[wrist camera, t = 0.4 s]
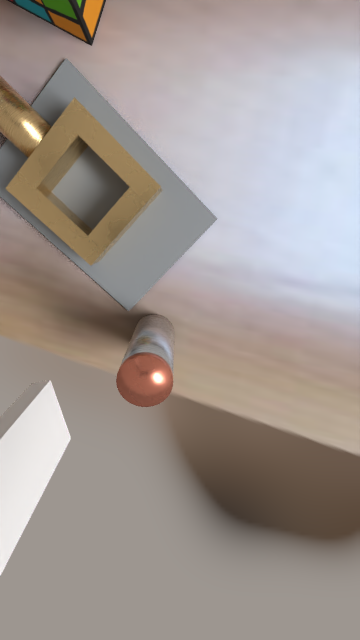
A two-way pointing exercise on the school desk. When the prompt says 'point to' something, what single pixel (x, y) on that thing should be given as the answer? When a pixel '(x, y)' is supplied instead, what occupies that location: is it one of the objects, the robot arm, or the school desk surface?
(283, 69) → the school desk surface
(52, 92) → the mat
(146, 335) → the copper-capped silver cylinder
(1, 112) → the fitting socket
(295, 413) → the school desk surface
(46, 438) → the robot arm
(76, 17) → the toy
